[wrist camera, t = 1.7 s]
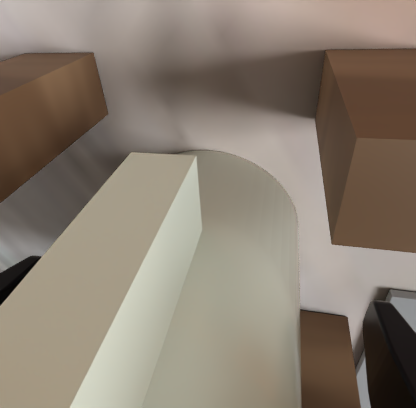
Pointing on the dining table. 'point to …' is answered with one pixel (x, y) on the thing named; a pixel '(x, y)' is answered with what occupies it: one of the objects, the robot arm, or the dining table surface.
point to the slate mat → (412, 312)
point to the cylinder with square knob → (163, 294)
